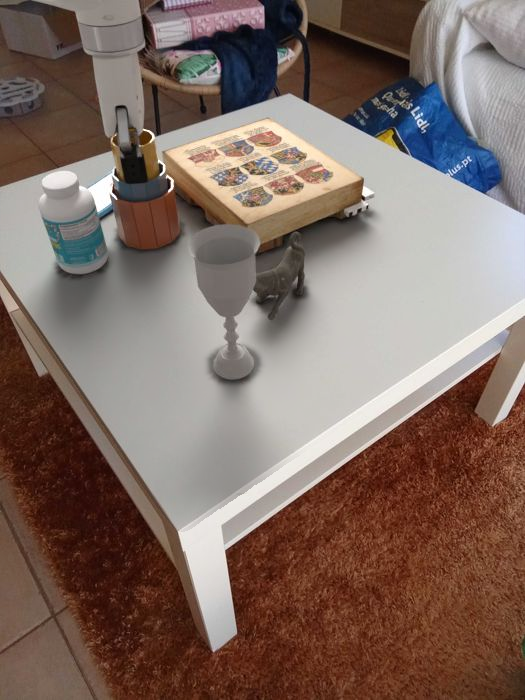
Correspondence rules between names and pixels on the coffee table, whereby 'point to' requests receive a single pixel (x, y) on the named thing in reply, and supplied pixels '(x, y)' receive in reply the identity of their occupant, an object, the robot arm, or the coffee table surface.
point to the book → (264, 181)
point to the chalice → (227, 286)
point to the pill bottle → (72, 223)
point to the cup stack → (146, 211)
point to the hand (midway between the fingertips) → (137, 168)
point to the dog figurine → (282, 276)
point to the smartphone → (102, 194)
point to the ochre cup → (146, 148)
